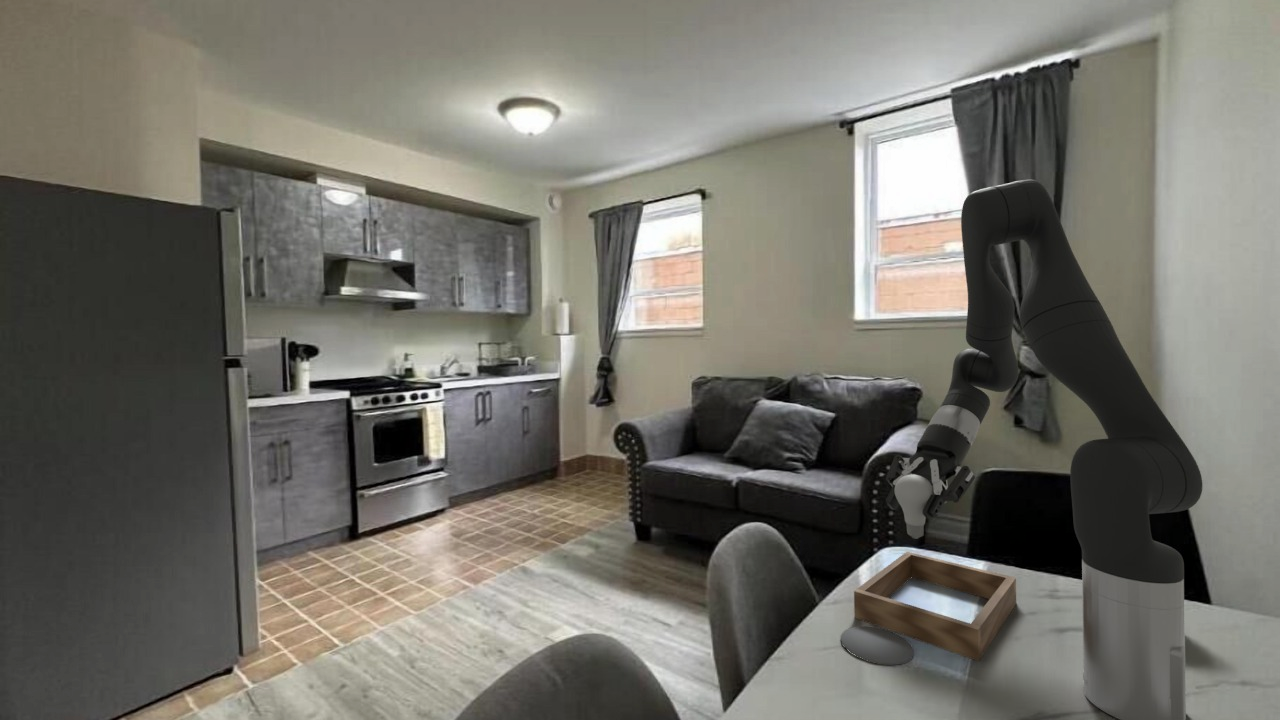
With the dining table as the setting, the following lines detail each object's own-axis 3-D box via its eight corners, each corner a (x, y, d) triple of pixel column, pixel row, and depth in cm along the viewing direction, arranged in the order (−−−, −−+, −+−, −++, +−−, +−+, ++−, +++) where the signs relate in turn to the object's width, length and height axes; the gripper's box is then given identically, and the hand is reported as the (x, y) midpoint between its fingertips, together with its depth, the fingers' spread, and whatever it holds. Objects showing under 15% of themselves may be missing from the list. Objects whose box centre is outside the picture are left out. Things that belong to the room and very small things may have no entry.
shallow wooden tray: (1016, 603, 92) (1015, 577, 92) (978, 661, 76) (978, 629, 75) (907, 574, 105) (906, 551, 105) (854, 617, 88) (854, 591, 88)
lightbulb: (919, 531, 95) (918, 470, 95) (944, 543, 89) (942, 477, 88) (888, 533, 94) (886, 472, 94) (910, 545, 88) (908, 479, 88)
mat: (923, 645, 80) (923, 642, 80) (898, 674, 73) (898, 671, 73) (857, 622, 87) (857, 619, 87) (829, 646, 80) (829, 643, 80)
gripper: (902, 419, 101) (861, 489, 95) (981, 427, 88) (938, 509, 83) (921, 444, 103) (882, 514, 98) (999, 455, 91) (959, 536, 85)
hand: (908, 511), depth 90 cm, fingers closed on lightbulb, 6 cm apart
